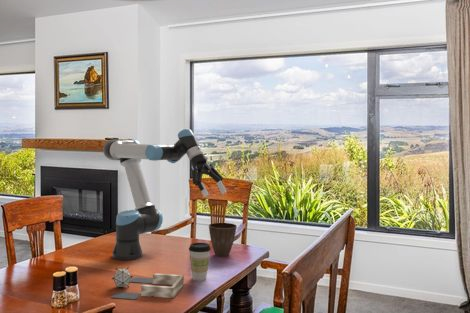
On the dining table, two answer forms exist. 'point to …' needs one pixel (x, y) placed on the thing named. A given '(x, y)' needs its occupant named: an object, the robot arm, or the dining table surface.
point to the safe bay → (163, 290)
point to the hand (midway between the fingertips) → (215, 194)
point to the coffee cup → (199, 260)
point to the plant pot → (222, 237)
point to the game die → (122, 277)
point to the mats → (132, 295)
